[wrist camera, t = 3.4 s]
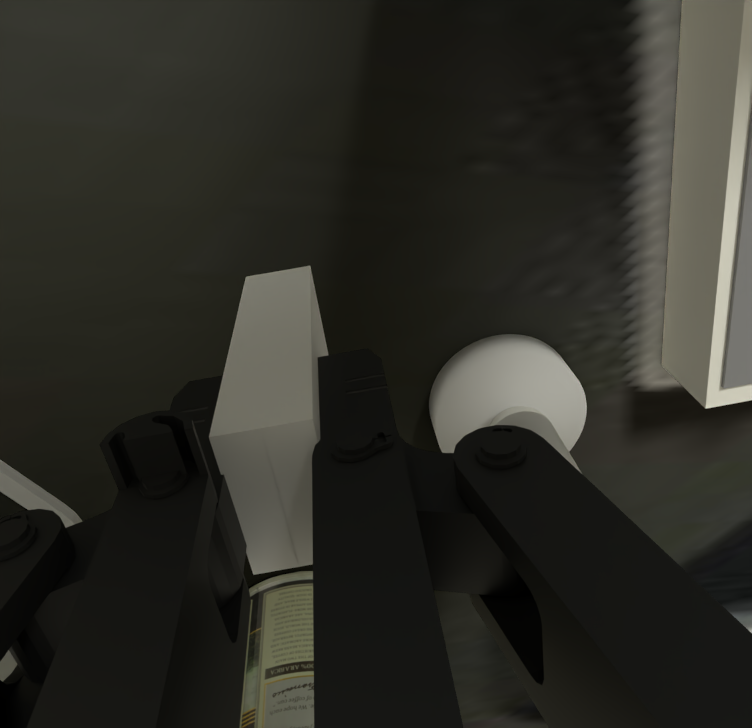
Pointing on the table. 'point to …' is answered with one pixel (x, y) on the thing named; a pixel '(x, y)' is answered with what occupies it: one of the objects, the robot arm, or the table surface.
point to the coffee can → (280, 654)
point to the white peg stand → (508, 392)
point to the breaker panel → (711, 207)
